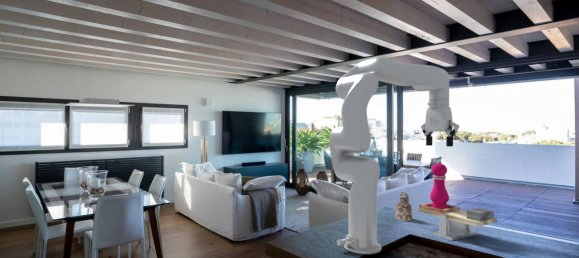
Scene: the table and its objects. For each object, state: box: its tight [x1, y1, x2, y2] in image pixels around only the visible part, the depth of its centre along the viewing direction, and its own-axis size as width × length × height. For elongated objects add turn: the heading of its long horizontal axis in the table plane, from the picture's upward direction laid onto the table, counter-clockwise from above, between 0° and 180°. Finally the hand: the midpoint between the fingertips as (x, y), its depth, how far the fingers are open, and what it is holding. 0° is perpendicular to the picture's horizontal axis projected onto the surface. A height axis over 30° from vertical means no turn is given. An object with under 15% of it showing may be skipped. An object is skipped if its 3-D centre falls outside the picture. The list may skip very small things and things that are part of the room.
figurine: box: [395, 191, 413, 222], centre depth 152 cm, size 7×7×12 cm
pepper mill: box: [429, 159, 450, 209], centre depth 137 cm, size 7×7×20 cm
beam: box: [418, 202, 498, 227], centre depth 129 cm, size 12×25×4 cm, turn 28°
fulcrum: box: [433, 209, 478, 241], centre depth 129 cm, size 15×8×8 cm, turn 118°
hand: (439, 145), depth 136 cm, fingers open, 9 cm apart
